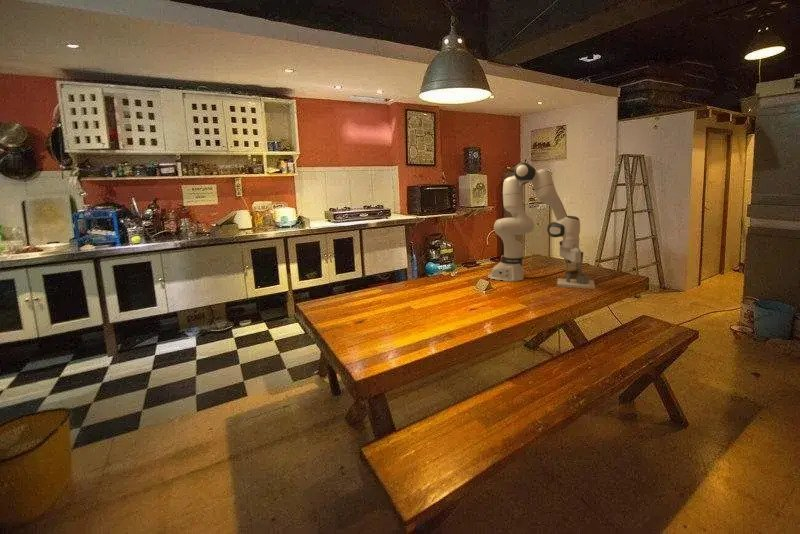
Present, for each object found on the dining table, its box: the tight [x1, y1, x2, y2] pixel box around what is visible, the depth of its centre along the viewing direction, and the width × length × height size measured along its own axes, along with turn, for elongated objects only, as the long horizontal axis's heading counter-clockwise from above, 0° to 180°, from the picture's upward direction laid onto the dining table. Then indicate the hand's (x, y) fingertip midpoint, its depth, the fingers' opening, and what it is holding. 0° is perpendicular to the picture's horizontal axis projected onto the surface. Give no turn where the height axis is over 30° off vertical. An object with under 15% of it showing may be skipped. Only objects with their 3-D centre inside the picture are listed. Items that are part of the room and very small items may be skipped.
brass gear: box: [563, 261, 576, 271], centre depth 233 cm, size 6×6×4 cm
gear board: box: [556, 272, 596, 290], centre depth 234 cm, size 20×13×7 cm, turn 67°
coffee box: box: [564, 251, 584, 279], centre depth 249 cm, size 9×6×16 cm
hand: (569, 267), depth 233 cm, fingers closed on brass gear, 6 cm apart
